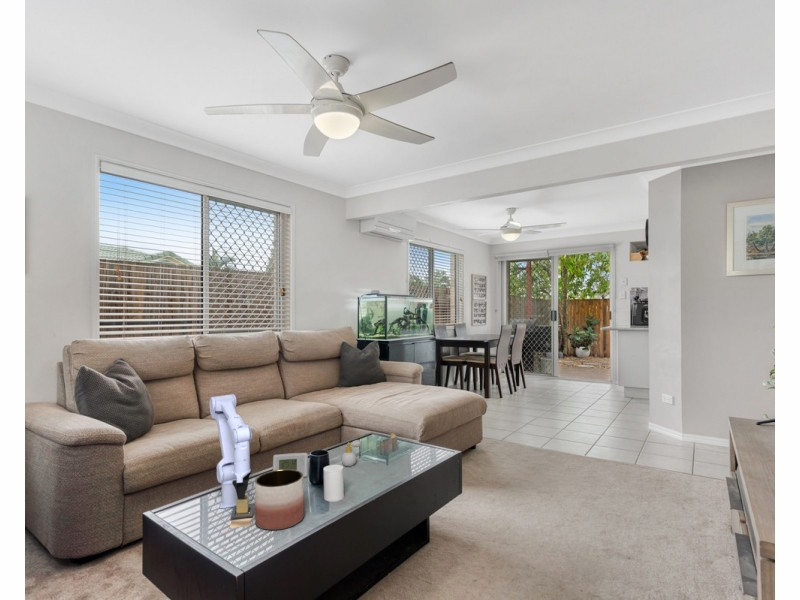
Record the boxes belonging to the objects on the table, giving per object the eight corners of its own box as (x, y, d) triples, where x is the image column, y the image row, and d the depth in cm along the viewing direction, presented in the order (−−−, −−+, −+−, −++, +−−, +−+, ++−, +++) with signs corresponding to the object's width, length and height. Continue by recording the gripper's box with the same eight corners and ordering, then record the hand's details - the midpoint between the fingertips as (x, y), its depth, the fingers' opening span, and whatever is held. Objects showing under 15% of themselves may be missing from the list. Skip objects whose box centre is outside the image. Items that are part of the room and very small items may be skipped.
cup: (336, 491, 188) (335, 463, 188) (347, 496, 182) (347, 467, 183) (320, 497, 182) (319, 468, 183) (331, 503, 177) (331, 473, 177)
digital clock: (270, 481, 202) (270, 457, 202) (277, 473, 211) (276, 451, 211) (305, 481, 201) (304, 457, 201) (310, 473, 210) (310, 451, 210)
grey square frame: (234, 510, 173) (234, 505, 173) (255, 507, 175) (255, 503, 175) (230, 521, 164) (230, 516, 164) (253, 518, 166) (253, 513, 166)
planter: (306, 527, 158) (305, 482, 158) (254, 535, 153) (253, 490, 153) (302, 506, 175) (302, 466, 175) (255, 513, 170) (255, 472, 170)
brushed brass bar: (238, 514, 169) (237, 496, 169) (249, 513, 170) (248, 494, 170) (236, 519, 165) (236, 500, 166) (247, 517, 166) (247, 499, 166)
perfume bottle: (338, 465, 219) (337, 441, 219) (353, 460, 226) (352, 437, 226) (348, 469, 214) (347, 444, 214) (363, 464, 221) (362, 440, 221)
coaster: (231, 522, 163) (231, 520, 163) (251, 519, 165) (251, 517, 165) (229, 528, 158) (229, 526, 158) (249, 525, 160) (249, 524, 160)
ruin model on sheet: (393, 450, 243) (392, 432, 243) (397, 451, 241) (397, 433, 241) (379, 455, 234) (379, 437, 234) (383, 456, 232) (383, 438, 232)
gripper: (233, 454, 174) (234, 488, 174) (227, 466, 160) (228, 504, 160) (252, 452, 176) (253, 486, 176) (248, 464, 162) (248, 501, 162)
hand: (242, 494), depth 168 cm, fingers open, 7 cm apart
